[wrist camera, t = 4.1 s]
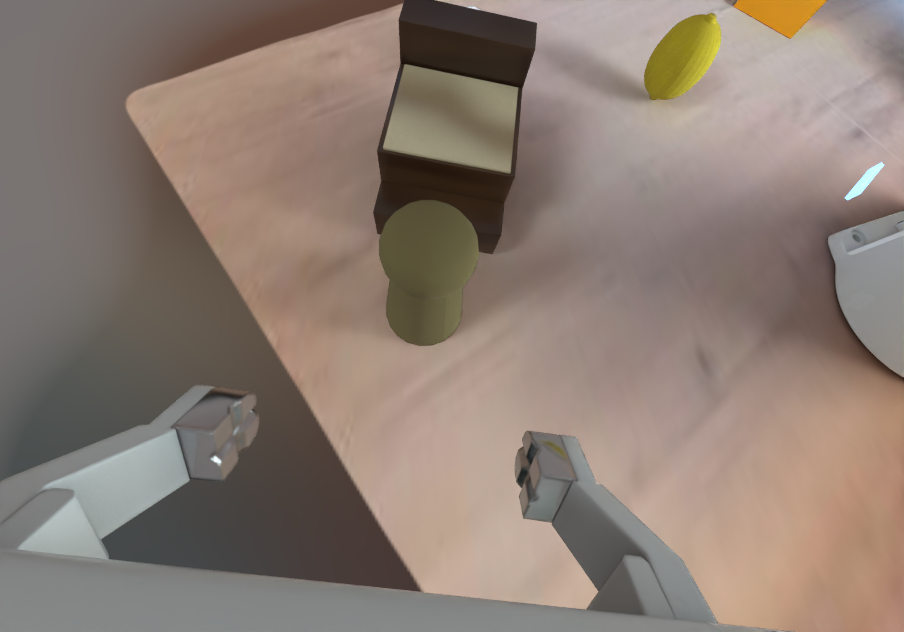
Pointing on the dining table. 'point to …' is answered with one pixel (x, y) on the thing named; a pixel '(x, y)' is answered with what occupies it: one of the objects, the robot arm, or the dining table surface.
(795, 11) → the orange juice
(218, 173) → the dining table surface
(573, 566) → the dining table surface
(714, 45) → the lemon
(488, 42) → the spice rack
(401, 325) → the cork
